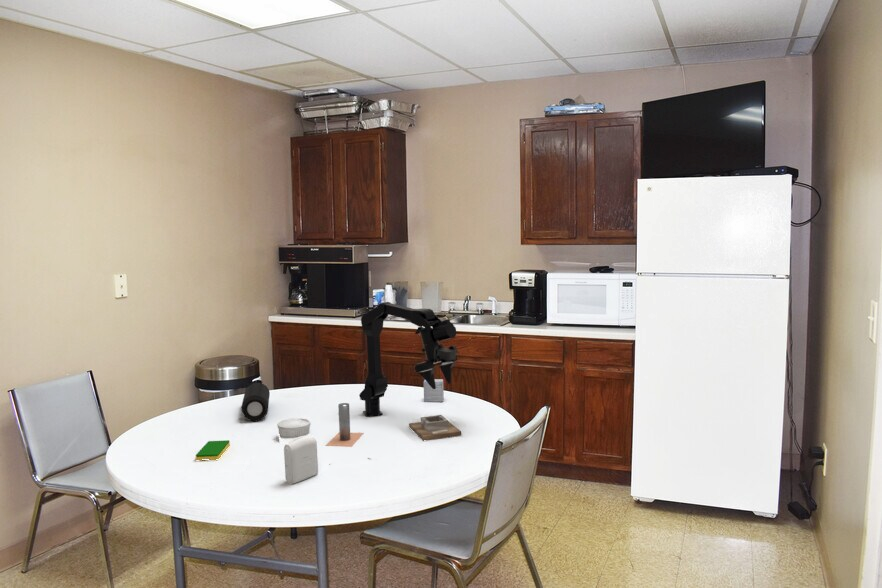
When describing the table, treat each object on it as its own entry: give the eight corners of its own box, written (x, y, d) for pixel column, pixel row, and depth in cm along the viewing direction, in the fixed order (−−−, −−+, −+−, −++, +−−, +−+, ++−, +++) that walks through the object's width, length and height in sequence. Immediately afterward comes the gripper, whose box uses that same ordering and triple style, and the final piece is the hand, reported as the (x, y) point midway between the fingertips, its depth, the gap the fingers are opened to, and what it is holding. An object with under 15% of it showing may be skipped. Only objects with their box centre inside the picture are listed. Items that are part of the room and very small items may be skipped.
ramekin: (317, 436, 232) (316, 421, 231) (290, 444, 224) (289, 429, 223) (298, 430, 239) (298, 416, 239) (271, 437, 231) (271, 423, 231)
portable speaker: (268, 421, 251) (267, 395, 249) (241, 424, 248) (240, 398, 247) (270, 403, 275) (269, 380, 274) (245, 405, 273) (244, 382, 272)
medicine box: (443, 399, 276) (443, 379, 275) (442, 402, 272) (442, 381, 271) (425, 399, 277) (424, 379, 276) (423, 402, 272) (423, 381, 271)
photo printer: (292, 485, 189) (290, 443, 187) (283, 481, 191) (281, 440, 190) (320, 474, 197) (318, 434, 195) (311, 471, 199) (309, 431, 198)
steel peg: (338, 438, 224) (337, 403, 223) (349, 436, 226) (347, 402, 224) (340, 441, 221) (339, 406, 220) (351, 440, 222) (350, 405, 221)
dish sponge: (195, 462, 210) (195, 455, 210) (208, 447, 224) (208, 440, 223) (218, 461, 210) (218, 454, 210) (230, 446, 224) (229, 439, 224)
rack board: (409, 427, 239) (408, 415, 239) (445, 422, 244) (445, 410, 244) (423, 440, 224) (422, 428, 224) (461, 435, 229) (461, 422, 229)
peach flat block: (339, 436, 231) (339, 432, 231) (364, 437, 229) (364, 433, 229) (325, 450, 217) (325, 445, 217) (351, 451, 216) (351, 446, 216)
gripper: (432, 343, 224) (444, 388, 223) (463, 335, 239) (474, 377, 238) (408, 349, 231) (419, 393, 230) (439, 341, 246) (450, 382, 245)
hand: (442, 386), depth 236 cm, fingers open, 9 cm apart
